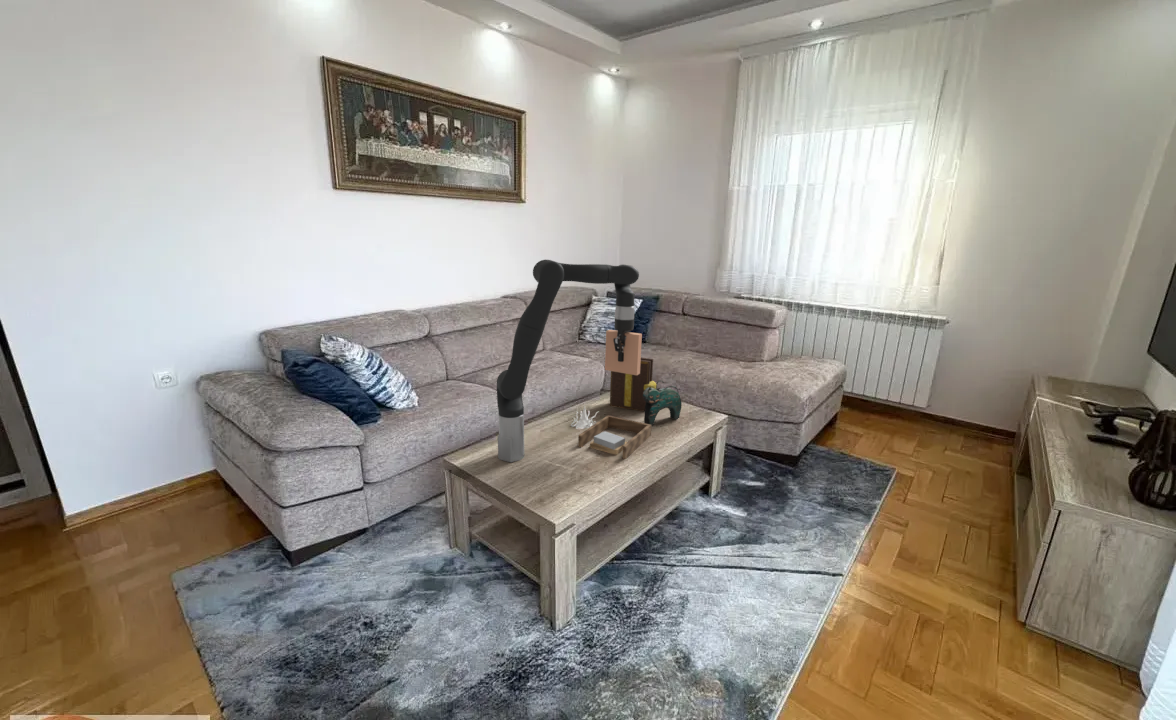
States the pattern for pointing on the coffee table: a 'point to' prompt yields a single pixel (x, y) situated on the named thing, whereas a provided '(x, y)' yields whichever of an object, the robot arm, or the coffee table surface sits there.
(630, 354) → the salmon orange rectangular slab
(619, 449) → the offcut bottom
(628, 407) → the book
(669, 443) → the coffee table surface
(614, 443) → the offcut top
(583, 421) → the white tentacle figurine
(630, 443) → the wooden tray
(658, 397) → the ceramic cat
